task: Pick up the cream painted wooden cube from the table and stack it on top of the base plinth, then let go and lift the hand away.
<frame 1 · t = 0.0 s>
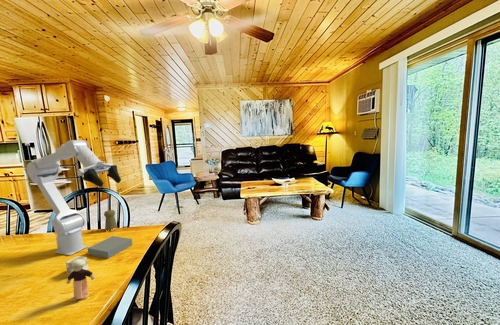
hand: (111, 183, 85), 32 cm above the table, tool tilted 50°, fingers open, 7 cm apart
base plinth: (111, 249, 96), on the table
cream cube: (78, 272, 80), on the table
grandmother figurine: (82, 297, 67), on the table
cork: (111, 229, 119), on the table
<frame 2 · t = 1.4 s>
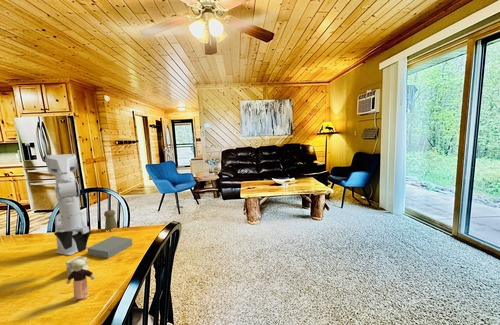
hand: (75, 249, 79), 9 cm above the table, tool pointing down, fingers open, 7 cm apart
nothing on the table moved.
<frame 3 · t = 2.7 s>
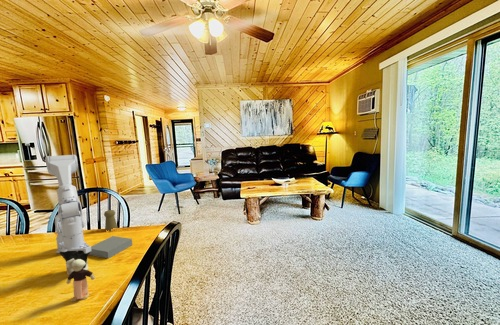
hand: (77, 267, 80), 2 cm above the table, tool pointing down, fingers closed on cream cube, 4 cm apart
cream cube: (78, 271, 80), on the table, touching gripper
everything else where it was.
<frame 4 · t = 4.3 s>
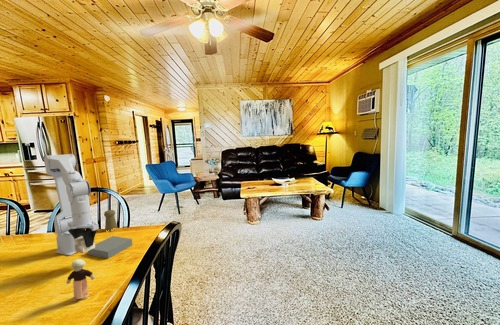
hand: (85, 245, 84), 8 cm above the table, tool pointing down, fingers closed on cream cube, 4 cm apart
cream cube: (85, 249, 84), point 7 cm above the table, touching gripper
everything else where it was.
when the fingers open (6 cm above the table, at t = 6.0 s): cream cube stays where it is, resting on base plinth.
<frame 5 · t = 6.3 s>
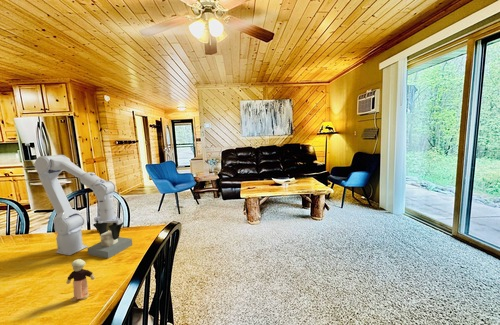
hand: (109, 237, 96), 6 cm above the table, tool pointing down, fingers open, 7 cm apart
cream cube: (109, 243, 96), point 3 cm above the table, touching base plinth
everything else where it was.
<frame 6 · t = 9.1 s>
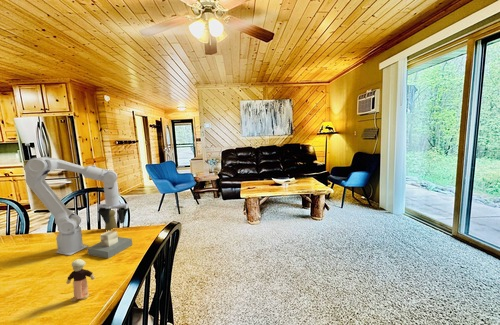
hand: (114, 222, 104), 9 cm above the table, tool pointing down, fingers open, 7 cm apart
nothing on the table moved.
at the end: cream cube inside the target area on the base plinth (0.3 cm from its centre), point 3.0 cm above the base plinth's base; cream cube tilted 0°; the gripper is holding nothing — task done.
